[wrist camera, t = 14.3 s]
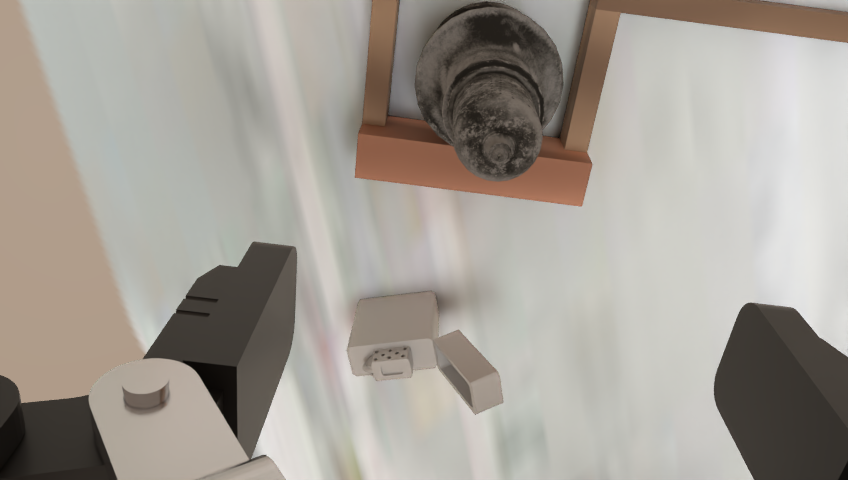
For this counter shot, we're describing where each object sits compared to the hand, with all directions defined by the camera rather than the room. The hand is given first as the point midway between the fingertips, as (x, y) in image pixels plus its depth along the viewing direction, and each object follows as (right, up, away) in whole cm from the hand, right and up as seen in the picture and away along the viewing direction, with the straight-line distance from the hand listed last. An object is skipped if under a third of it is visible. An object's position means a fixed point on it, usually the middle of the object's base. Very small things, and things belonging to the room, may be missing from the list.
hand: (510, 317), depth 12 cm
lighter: (-1, -2, +24) cm, 24 cm away
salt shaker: (+1, +9, +18) cm, 21 cm away
